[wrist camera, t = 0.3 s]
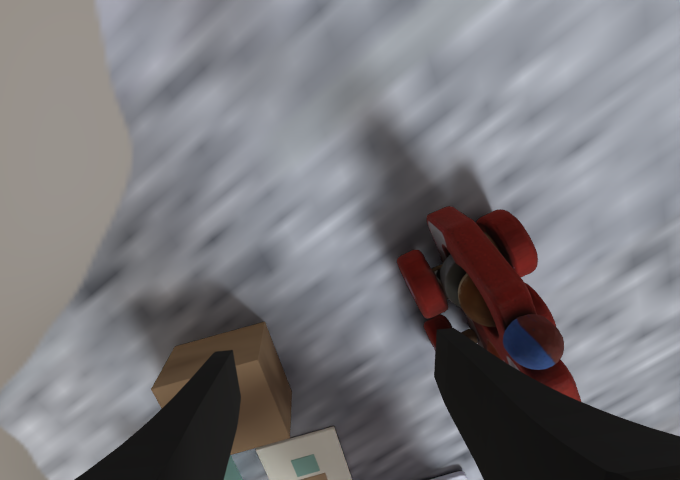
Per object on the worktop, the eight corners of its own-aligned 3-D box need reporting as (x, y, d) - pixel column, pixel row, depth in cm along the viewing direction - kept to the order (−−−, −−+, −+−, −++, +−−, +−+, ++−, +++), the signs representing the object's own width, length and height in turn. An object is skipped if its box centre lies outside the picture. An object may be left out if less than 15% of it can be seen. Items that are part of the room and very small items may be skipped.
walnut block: (291, 389, 25) (290, 438, 21) (210, 412, 25) (193, 465, 21) (265, 320, 23) (257, 359, 19) (175, 344, 23) (151, 389, 19)
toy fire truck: (481, 174, 21) (638, 223, 11) (530, 330, 25) (675, 465, 15) (376, 224, 21) (439, 314, 12) (441, 369, 26) (528, 526, 16)
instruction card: (358, 496, 29) (358, 499, 29) (287, 516, 29) (287, 519, 29) (334, 426, 26) (334, 428, 26) (256, 448, 26) (255, 451, 26)
